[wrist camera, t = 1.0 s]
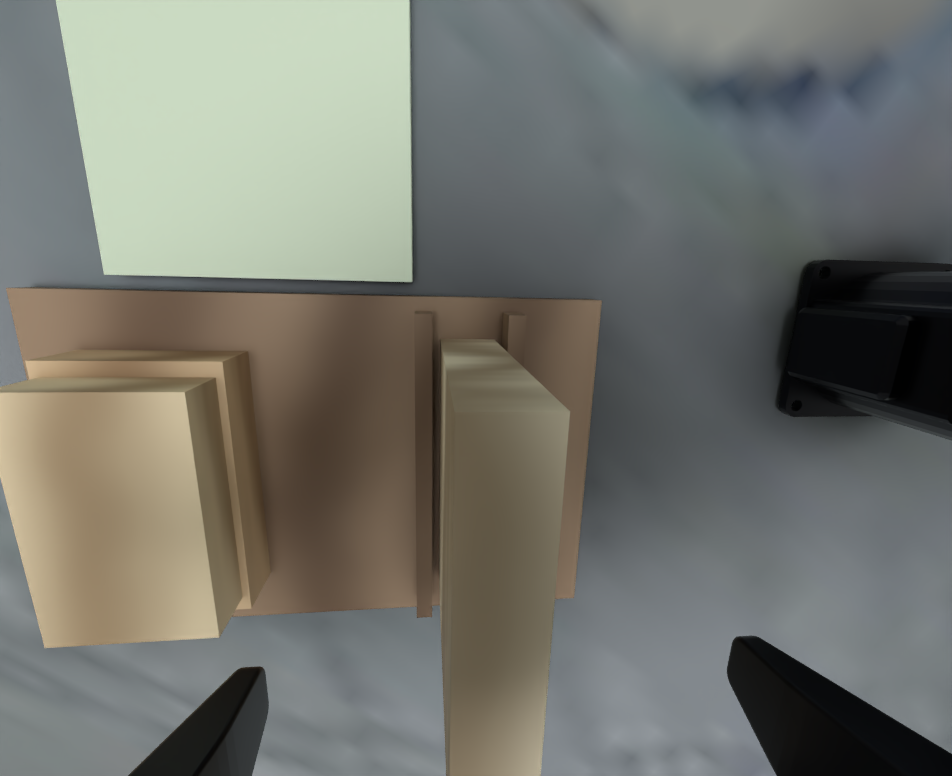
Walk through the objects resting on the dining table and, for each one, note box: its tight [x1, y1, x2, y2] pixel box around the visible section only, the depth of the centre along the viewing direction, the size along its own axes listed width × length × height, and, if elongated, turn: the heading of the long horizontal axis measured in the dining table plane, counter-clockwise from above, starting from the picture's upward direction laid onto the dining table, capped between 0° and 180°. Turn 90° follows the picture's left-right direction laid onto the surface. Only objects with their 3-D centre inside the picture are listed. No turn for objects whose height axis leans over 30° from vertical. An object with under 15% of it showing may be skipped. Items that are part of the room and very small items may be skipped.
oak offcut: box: [25, 350, 271, 610], centre depth 15 cm, size 6×9×2 cm, turn 178°
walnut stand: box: [6, 287, 602, 618], centre depth 17 cm, size 20×13×2 cm, turn 88°
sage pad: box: [56, 0, 413, 282], centre depth 14 cm, size 10×10×1 cm
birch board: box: [439, 339, 570, 776], centre depth 13 cm, size 2×10×9 cm, turn 178°
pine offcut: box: [0, 377, 243, 648], centre depth 13 cm, size 5×8×2 cm, turn 178°
